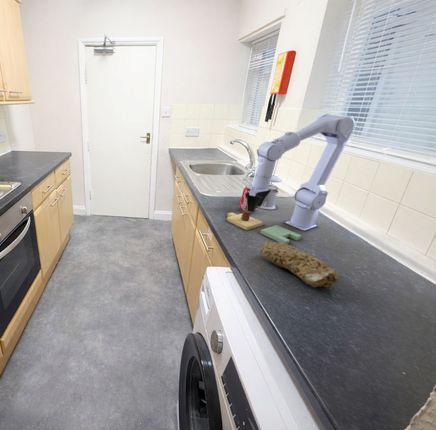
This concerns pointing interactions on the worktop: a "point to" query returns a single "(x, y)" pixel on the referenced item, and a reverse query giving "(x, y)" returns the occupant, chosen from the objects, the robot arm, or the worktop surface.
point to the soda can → (244, 199)
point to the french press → (271, 194)
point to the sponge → (300, 264)
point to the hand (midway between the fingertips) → (254, 208)
